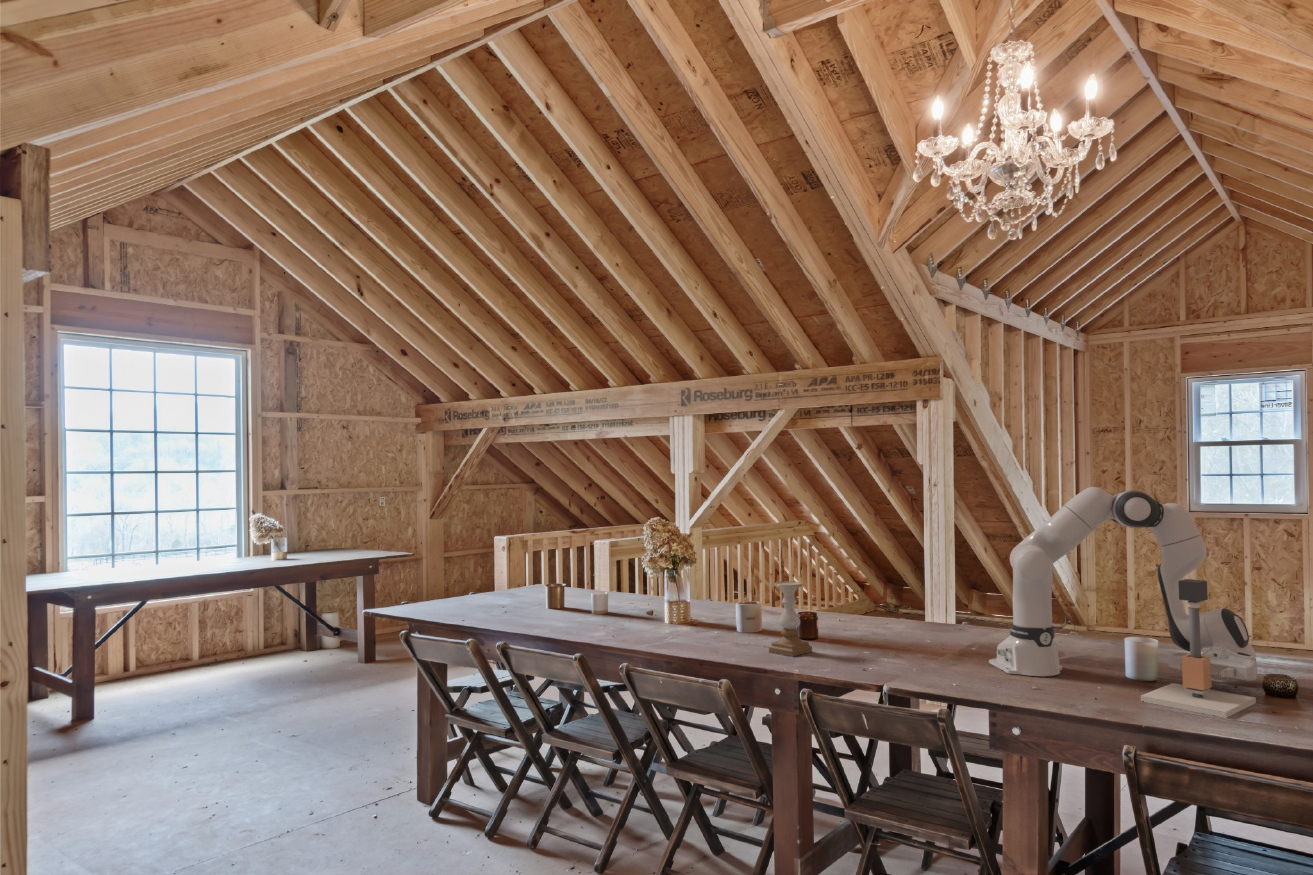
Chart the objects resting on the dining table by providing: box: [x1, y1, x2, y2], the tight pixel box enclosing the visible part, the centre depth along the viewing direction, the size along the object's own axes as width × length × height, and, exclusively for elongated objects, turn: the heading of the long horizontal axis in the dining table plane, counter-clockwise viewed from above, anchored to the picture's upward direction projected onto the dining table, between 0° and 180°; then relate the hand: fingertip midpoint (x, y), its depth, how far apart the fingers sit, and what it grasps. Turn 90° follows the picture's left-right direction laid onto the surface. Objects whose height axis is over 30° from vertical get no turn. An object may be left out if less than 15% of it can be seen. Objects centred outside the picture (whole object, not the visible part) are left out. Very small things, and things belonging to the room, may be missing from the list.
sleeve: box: [1181, 654, 1213, 690], centre depth 224 cm, size 5×5×8 cm
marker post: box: [1140, 578, 1257, 719], centre depth 224 cm, size 20×20×32 cm
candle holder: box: [768, 580, 813, 657], centre depth 294 cm, size 11×11×24 cm
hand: (1200, 670), depth 225 cm, fingers open, 8 cm apart
